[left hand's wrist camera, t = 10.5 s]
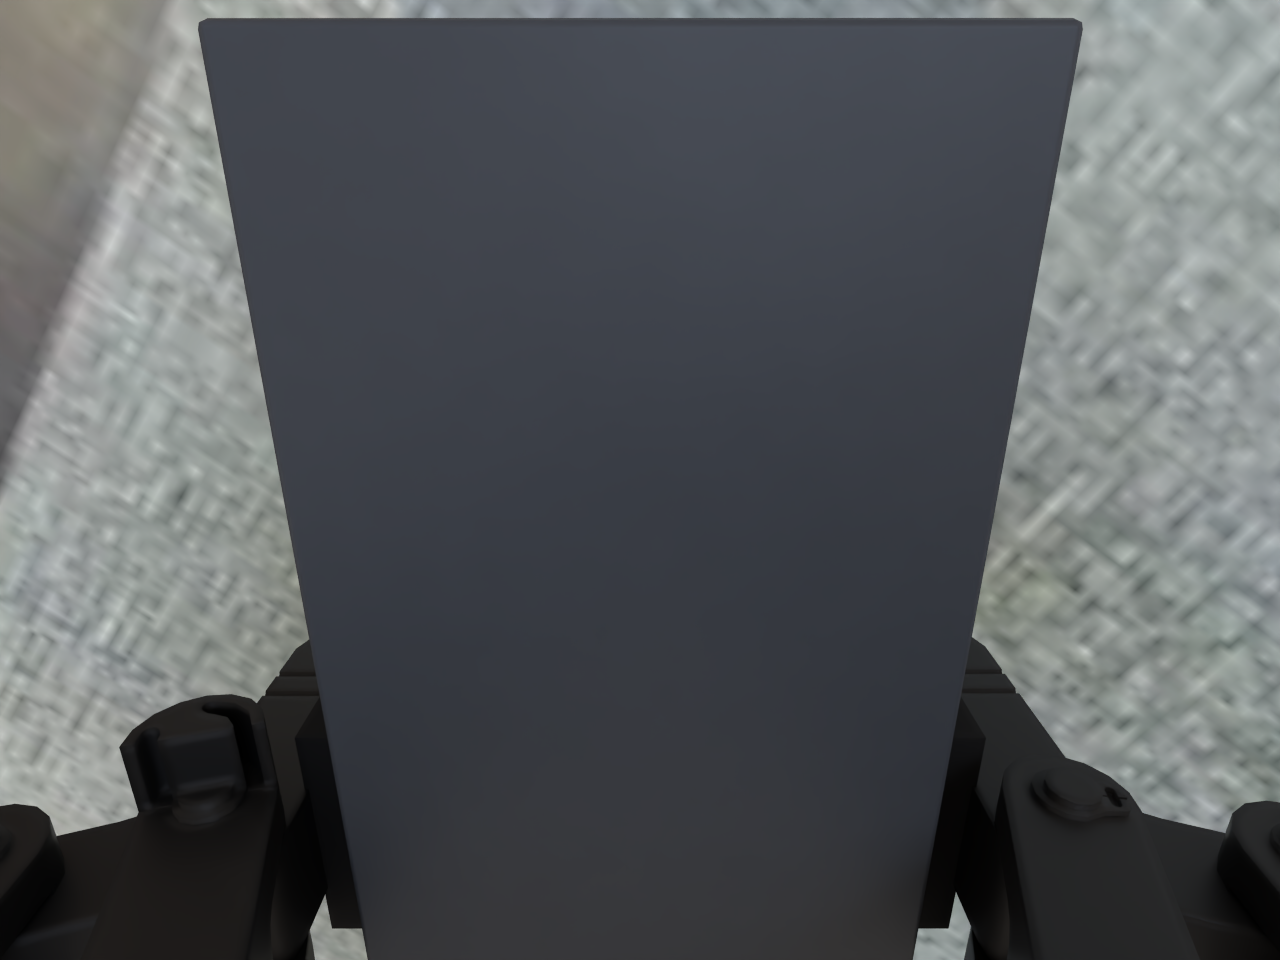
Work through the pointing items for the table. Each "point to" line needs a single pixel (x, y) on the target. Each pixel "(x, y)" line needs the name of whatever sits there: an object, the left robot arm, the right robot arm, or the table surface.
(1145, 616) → the table surface
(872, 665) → the beam
